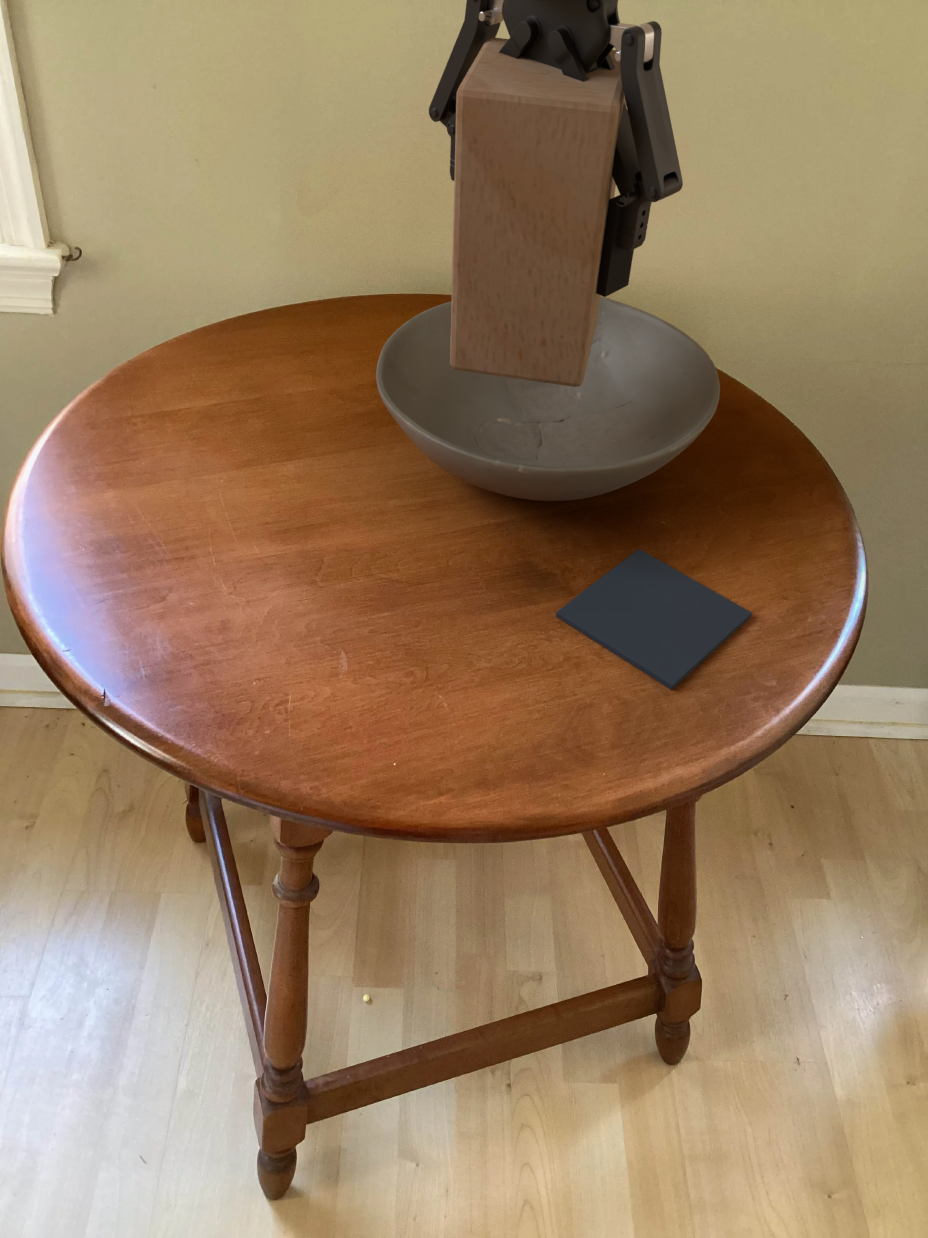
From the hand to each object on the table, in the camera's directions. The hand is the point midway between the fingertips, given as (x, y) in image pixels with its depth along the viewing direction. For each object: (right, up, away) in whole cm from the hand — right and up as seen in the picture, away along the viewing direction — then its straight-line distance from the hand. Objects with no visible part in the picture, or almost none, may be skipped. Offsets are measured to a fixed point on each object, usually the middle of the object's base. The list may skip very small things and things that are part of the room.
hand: (537, 257), depth 76 cm
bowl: (+1, -12, +13) cm, 18 cm away
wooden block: (-1, -5, +5) cm, 7 cm away
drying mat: (+8, -26, -1) cm, 27 cm away
